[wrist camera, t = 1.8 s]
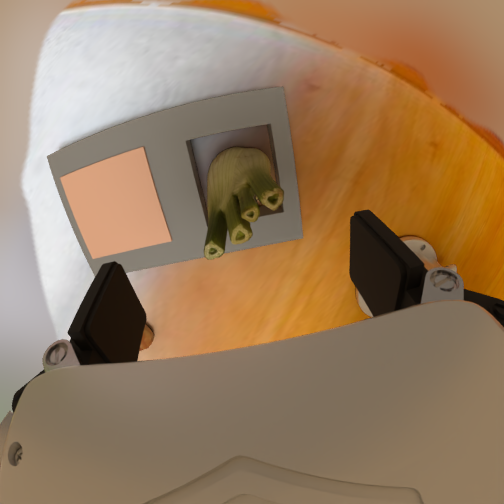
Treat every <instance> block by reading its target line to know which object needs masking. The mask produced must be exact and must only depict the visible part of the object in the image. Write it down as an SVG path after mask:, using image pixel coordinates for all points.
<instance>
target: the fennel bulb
mask: <svg viewBox="0 0 504 504" xmlns="http://www.w3.org/2000/svg"><path fill="white" fill-rule="evenodd" d="M257 199H259V201H260V202H261V203H262V204H263V205H265V206H267V207H268V208H270V209H272V210H273V211H275V210H276V209H277V208H278V207H279V206H280V205H282V202H283V200H284V190H283V189H282V188H281V187H280V186H279V185H278V184H277V183H276V182H275V181H274V180H273V178H272V177H271V163H270V160H269V158H268V157H267V155H266V154H265V153H263V152H262V151H261V150H259V149H256V148H243V147H232V148H228V149H226V150H224V151H222V152H221V153H219V154H218V155H217V156H216V158H215V159H214V160H213V161H212V163H211V165H210V168H209V171H208V176H207V204H208V206H207V207H208V218H209V222H208V230H207V236H206V240H205V245H204V256H205V257H206V258H207V259H208V260H211V259H214V258H218V257H220V256H222V255H223V254H224V252H225V246H226V238H227V231H228V233H229V237H230V241H231V243H232V244H235V245H236V244H242V243H244V242H246V241H249V240H250V238H251V237H252V235H253V232H252V229H251V226H250V222H255V221H257V219H258V217H259V215H260V209H259V205H258V203H257V201H256V200H257Z"/></svg>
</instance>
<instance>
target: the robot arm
mask: <svg viewBox="0 0 504 504" xmlns="http://www.w3.org/2000/svg"><path fill="white" fill-rule="evenodd" d="M456 272H457V268H456V265H455V264H452V265H448V266H446V267H442V266H441V265H440V264H439V263H438V262H437V256H436V253H435V250H434V249H433V248H432V246H431V245H430V244H429V243H428V242H427V241H425V240H423V239H422V238H419V237H415V236H407V237H402V238H399V237H398V236H397V235H396V234H395V233H394V232H392V231H391V230H390V229H389V228H388V227H387V226H386V225H385V224H384V223H383V222H382V221H381V220H380V219H379V218H378V217H376V216H375V215H374V214H373V213H372V212H371V211H370V210H363V211H358V212H355V213H354V216H351V219H350V277H351V280H352V282H353V283H354V285H355V286H356V299H357V302H358V304H359V306H360V307H361V309H362V311H363V312H364V313H365V314H367V315H369V316H370V317H372V318H369V319H365V320H362V321H358V322H354V323H351V324H347V325H343V326H339V327H336V328H332V329H328V330H324V331H319V332H315V333H311V334H307V335H302V336H298V337H293V338H289V339H284V340H279V341H274V342H269V343H264V344H259V345H254V346H248V347H243V348H237V349H231V350H225V351H219V352H212V353H205V354H198V355H191V356H183V357H175V358H167V359H157V360H147V361H137V359H138V354H139V350H140V345H141V341H142V336H143V332H144V328H145V324H146V313H145V311H144V309H143V307H142V305H141V303H140V301H139V299H138V297H137V295H136V293H135V291H134V289H133V287H132V285H131V283H130V281H129V279H128V277H127V275H126V273H125V271H124V269H123V267H122V265H121V264H118V263H117V262H116V261H113V262H109V263H104V264H102V266H101V267H100V269H99V271H98V273H97V275H96V276H95V278H94V280H93V282H92V284H91V286H90V288H89V290H88V291H87V293H86V295H85V297H84V299H83V301H82V303H81V305H80V307H79V309H78V311H77V313H76V315H75V318H74V320H73V322H72V324H71V326H70V328H69V330H68V334H69V336H70V337H71V340H70V342H69V341H68V340H64V339H62V340H58V341H56V342H54V343H53V344H52V345H50V346H49V347H48V349H47V350H46V351H45V353H44V356H43V366H44V370H43V371H42V372H40V373H39V374H38V375H37V376H35V377H34V378H33V379H32V380H31V381H29V382H28V383H27V384H26V385H24V386H23V387H22V388H21V389H20V390H18V391H17V392H16V393H15V395H14V398H13V402H12V410H13V413H12V412H11V411H9V412H8V414H7V415H6V417H5V418H4V419H3V421H2V422H1V424H0V504H504V301H503V300H500V299H497V298H494V297H490V296H487V295H483V294H480V293H476V292H473V291H469V290H466V289H464V284H463V280H462V278H461V277H460V276H459V275H458V274H457V273H456Z"/></svg>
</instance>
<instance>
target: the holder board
mask: <svg viewBox="0 0 504 504" xmlns="http://www.w3.org/2000/svg"><path fill="white" fill-rule="evenodd" d="M266 124H267V127H268V133H269V139H270V145H271V151H272V157H273V164H274V170H275V177H276V183H277V184H278V185H279V186H280V187H281V188H282V189H283V190H284V200H283V202H282V205H280V206H279V207H278V208H277V209H276V210H275V211H273V210H272V209H270V208H268V207H267V206H265V205H263V206H259V209H260V215H259V217H258V219H257V221H255V222H250V226H251V229H252V232H253V235H252V237H251V238H250V240H249V241H246V242H244V243H242V244H236V245H235V244H232V243H231V241H230V237H229V233H228V231H227V238H226V246H225V252H224V253H229V252H234V251H239V250H244V249H250V248H255V247H260V246H265V245H270V244H275V243H281V242H286V241H291V240H296V239H301V238H303V231H302V221H301V211H300V202H299V193H298V185H297V176H296V168H295V161H294V153H293V146H292V139H291V132H290V125H289V119H288V112H287V106H286V100H285V94H284V88H283V87H275V88H267V89H260V90H253V91H247V92H241V93H235V94H230V95H225V96H220V97H215V98H210V99H206V100H201V101H197V102H193V103H189V104H185V105H181V106H177V107H174V108H170V109H166V110H163V111H160V112H156V113H153V114H150V115H147V116H143V117H140V118H137V119H134V120H131V121H129V122H126V123H123V124H120V125H117V126H115V127H112V128H109V129H107V130H104V131H102V132H99V133H97V134H94V135H92V136H89V137H87V138H85V139H82V140H80V141H78V142H76V143H73V144H71V145H69V146H67V147H65V148H63V149H61V150H58V151H56V152H54V153H52V154H50V155H48V156H47V159H48V162H49V165H50V169H51V172H52V175H53V178H54V181H55V184H56V187H57V189H58V192H59V195H60V198H61V200H62V203H63V206H64V208H65V211H66V213H67V216H68V218H69V221H70V223H71V226H72V228H73V230H74V233H75V235H76V237H77V240H78V242H79V244H80V246H81V248H82V251H83V253H84V255H85V257H86V259H87V261H88V263H89V265H90V267H91V269H92V271H93V273H94V275H95V276H96V275H97V273H98V271H99V269H100V267H101V266H102V264H104V263H109V262H113V261H116V262H117V263H118V264H121V265H122V267H123V269H124V271H125V273H127V272H132V271H137V270H142V269H147V268H152V267H157V266H163V265H168V264H173V263H178V262H183V261H188V260H193V259H198V258H203V257H205V256H204V245H205V240H206V236H207V230H208V222H209V218H208V211H207V207H206V204H205V200H204V196H203V192H202V188H201V184H200V180H199V176H198V172H197V167H196V163H195V159H194V155H193V151H192V147H191V142H190V140H191V139H195V138H199V137H203V136H208V135H212V134H217V133H222V132H227V131H232V130H237V129H242V128H248V127H254V126H260V125H266Z"/></svg>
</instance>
